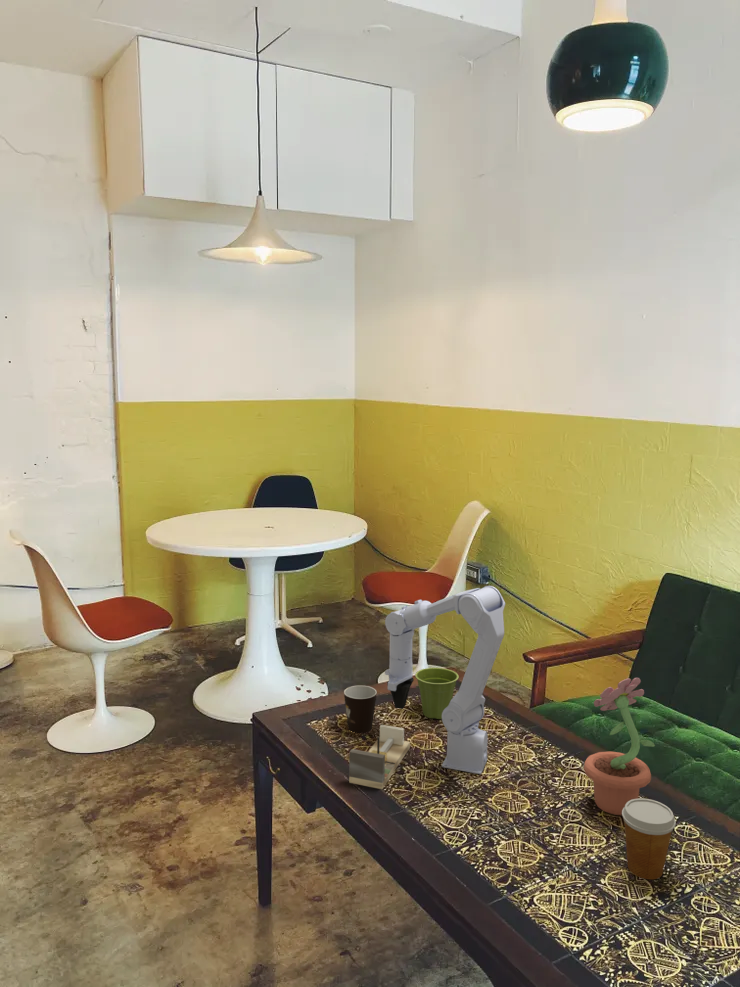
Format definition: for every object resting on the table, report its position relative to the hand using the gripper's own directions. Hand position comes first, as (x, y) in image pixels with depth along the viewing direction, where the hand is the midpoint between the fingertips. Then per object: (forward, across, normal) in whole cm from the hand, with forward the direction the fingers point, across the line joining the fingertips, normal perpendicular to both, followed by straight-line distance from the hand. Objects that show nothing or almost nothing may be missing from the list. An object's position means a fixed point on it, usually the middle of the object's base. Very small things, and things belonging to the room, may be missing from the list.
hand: (400, 706), depth 197 cm
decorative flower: (+9, +13, +54) cm, 56 cm away
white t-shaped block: (+7, +10, 0) cm, 12 cm away
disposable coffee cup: (+9, +34, +60) cm, 69 cm away
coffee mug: (+9, -3, -12) cm, 15 cm away
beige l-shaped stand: (+8, +14, 0) cm, 17 cm away
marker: (+7, +17, +1) cm, 18 cm away
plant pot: (+9, -17, +5) cm, 20 cm away
